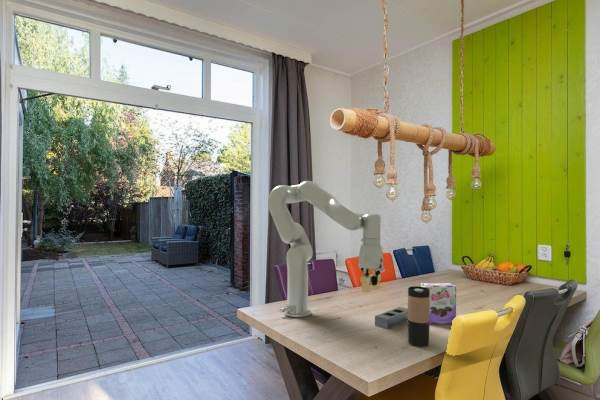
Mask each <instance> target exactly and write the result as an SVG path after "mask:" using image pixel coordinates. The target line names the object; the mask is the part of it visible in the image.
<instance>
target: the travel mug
mask: <svg viewBox="0 0 600 400" xmlns="http://www.w3.org/2000/svg"><path fill="white" fill-rule="evenodd" d="M407 309H408V321H407V340H408V341H407V342H408V344H409V345H410V346H412V347H417V348H426V346H427V347H429V344H430V325H431V324H430V290H429V289H428V288H425V287H420V286H417V285H416V286H415V285H413V286H408V287H407Z"/></svg>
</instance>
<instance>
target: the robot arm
mask: <svg viewBox="0 0 600 400" xmlns="http://www.w3.org/2000/svg"><path fill="white" fill-rule="evenodd" d="M300 202H308V203H309V204H310V205H313V206H314V207H315V208H316V209H318V210H320V211H321V212H323V213H324V214H325V215H326V216H327V217H329V218H330V219H331V220H332V221H334V222H336V223H337V224H338V225H340V226H342V227H343V228H345V229H346V230H348V231H352V232H354V231H357V230H362V238H361V239H360V242H362V244H360V248H359V253H358V265H357V268H359V269H360V270H361V272H362V273H363V276H365V275H370V274H371V273H370V270H372V274H373V276H372V285H373V286H374V285H377V283H378V276H379V274H381V273H384V272H385V271H386V269H385V267H384V254H383V253H384V252H383V247H382V245H381V224H382V223H381V222H382V221H381V219H382V218H381V215H380V214H378V213H365V214H364V213H358V212H353V211H352V210H350V209H348V208H347V207H345V206H344V205H343V204H341V203H340V202H339V201H338V200H337V198H336V197H335V196H334V195H332V193H330V192H328V191H326V190H324V189H323V188H322V187H320V186H319V185H318V184H317V182H314V181H312V180H311V181H310V180H303V181H302V182H301V183H300V184H295V185H285V184H284V185H283V184H281V185H277V186H275V187H274V188H273V189H272V190H271V191H270V193H269V196H268V198H267V208H268V211H269V212H270V213H269V214H270V215H271V217H272V220H273V223H274V226H275V227H276V230H277V232H278V235H279V237H280V240H281V241H282V242H283V243H285V244H289V245H290V248H289V249H288V251H287V253H286V255H285V257H286V258H285V259H286V260H285V261H286V268H287V269H286V270H287V290H286V291H287V295H286V297H287V299H286V300H287V301H286V302H287V303H285V306H284V307H280V308H279V313H283V315H285V316H288V317H292V318H305V317H309V316H310V315H311V314H312V310H311V309H309V268H308V262H309V261H310V260H311V259H312V258H313V255H314V250H313V247H312V244H311V243H310V240H309V238H308V234H306V231H305V229H304V227H303V226H302V225H301V224H300V223H298V222H295V221H294V219H293V217H292V215H291V213H290V210H289V209H288V207H287V204H294V203H295V204H296V203H300Z"/></svg>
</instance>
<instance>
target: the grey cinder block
mask: <svg viewBox="0 0 600 400" xmlns="http://www.w3.org/2000/svg"><path fill="white" fill-rule="evenodd" d="M405 322H408V307H407V308H405V307H403V306H399V307H396V308H393V309H390V310H387V311H385V312H383V313H379V314H377V315H375V316H374V326H376V327H379V328H382V329H386V330H389V329H391V328H394V327H396V326H399V325H400V324H403V323H405Z"/></svg>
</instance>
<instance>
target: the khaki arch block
mask: <svg viewBox="0 0 600 400" xmlns="http://www.w3.org/2000/svg"><path fill="white" fill-rule="evenodd" d="M369 274H370V275H365V276H364V275H361V276H360V281H359V283H361V292H362V293H367V294H368V293H371V290H373V291H379V290H380V282H381V281H382V274H381V273H380V274H379V276H378V283H377V285H374V286H373V285H372V276H373V273H372V274H371V273H369Z"/></svg>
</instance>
